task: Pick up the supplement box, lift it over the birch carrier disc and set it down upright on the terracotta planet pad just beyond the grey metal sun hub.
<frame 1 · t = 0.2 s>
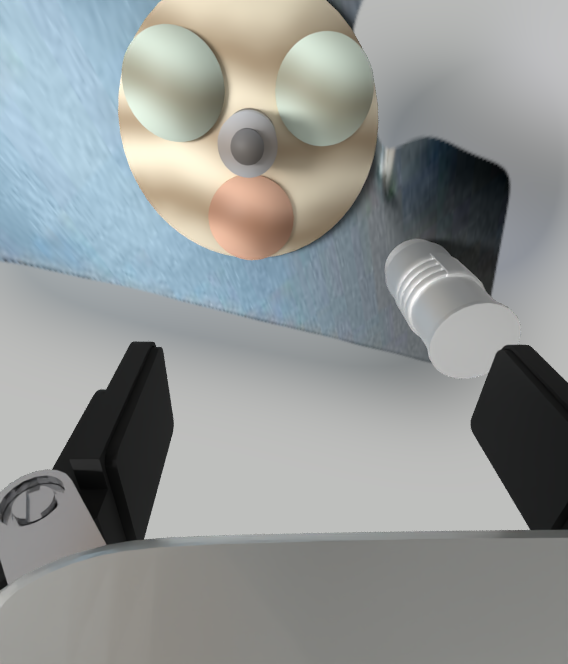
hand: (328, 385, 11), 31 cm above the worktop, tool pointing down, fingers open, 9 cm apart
carrier: (251, 135, 35), on the worktop
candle: (412, 264, 43), on the worktop
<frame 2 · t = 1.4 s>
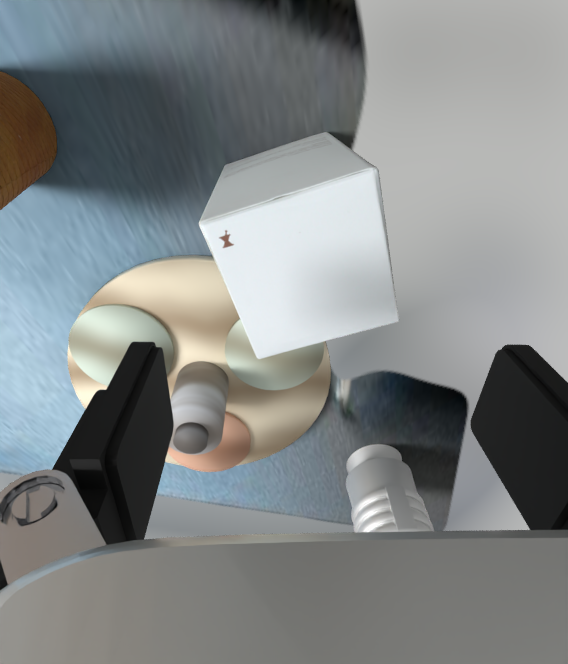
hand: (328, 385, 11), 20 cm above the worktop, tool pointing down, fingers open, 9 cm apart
carrier: (204, 373, 35), on the worktop
disposable coffee cup: (5, 128, 25), on the worktop
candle: (373, 461, 43), on the worktop
supplement box: (291, 201, 28), on the worktop
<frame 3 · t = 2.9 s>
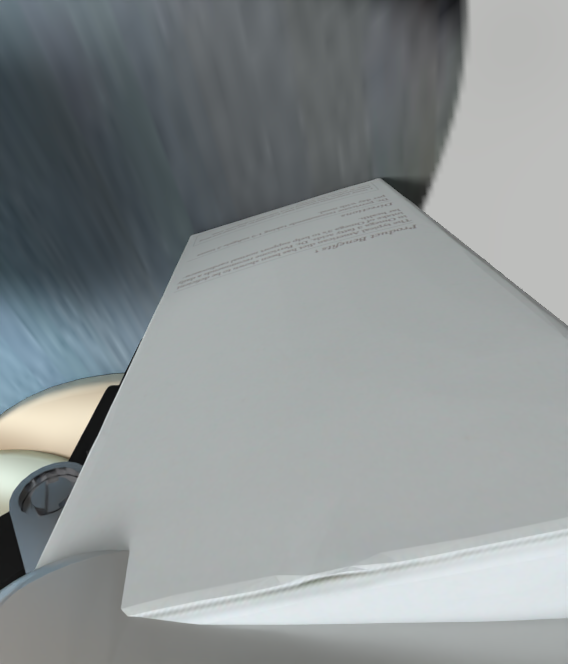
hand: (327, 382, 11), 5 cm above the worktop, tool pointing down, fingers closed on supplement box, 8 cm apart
carrier: (173, 521, 23), on the worktop
supplement box: (309, 290, 16), on the worktop, touching gripper
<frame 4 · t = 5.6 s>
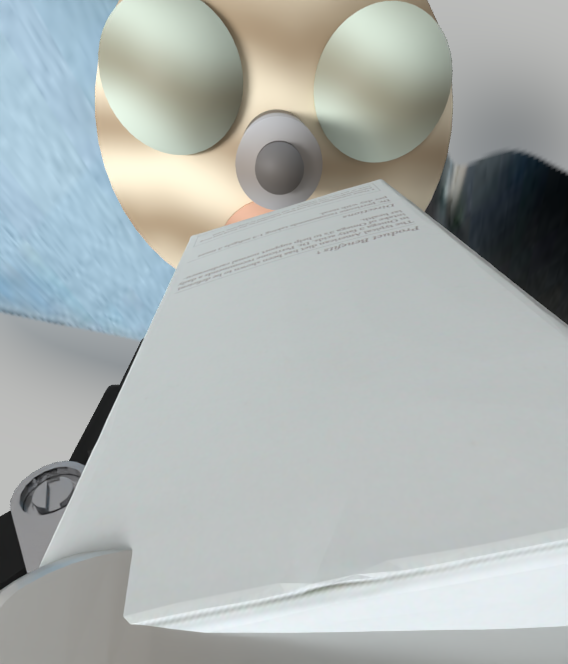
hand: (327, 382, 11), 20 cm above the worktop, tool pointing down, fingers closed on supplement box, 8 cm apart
carrier: (276, 146, 26), on the worktop
supplement box: (309, 291, 16), point 14 cm above the worktop, touching gripper
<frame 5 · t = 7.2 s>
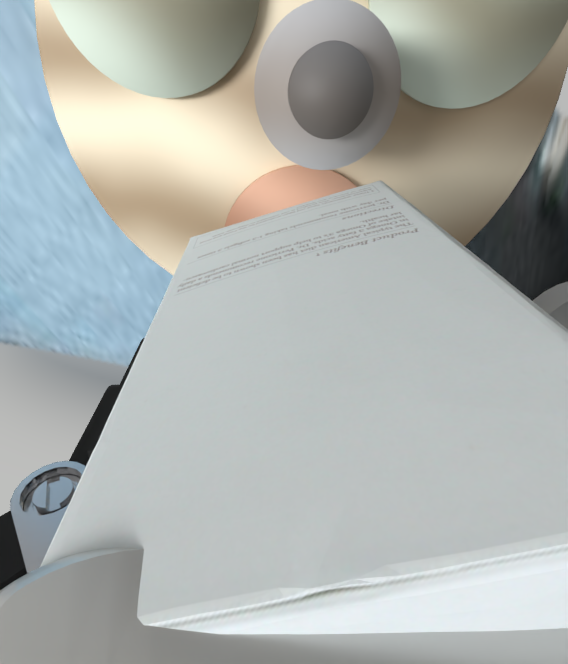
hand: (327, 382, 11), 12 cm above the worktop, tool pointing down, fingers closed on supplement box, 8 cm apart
carrier: (307, 89, 18), on the worktop
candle: (561, 320, 25), on the worktop
supplement box: (309, 292, 16), point 7 cm above the worktop, touching gripper
when the fingers open (8 cm above the worktop, at t = 8.6 s): supplement box drops 1 cm, resting on carrier.
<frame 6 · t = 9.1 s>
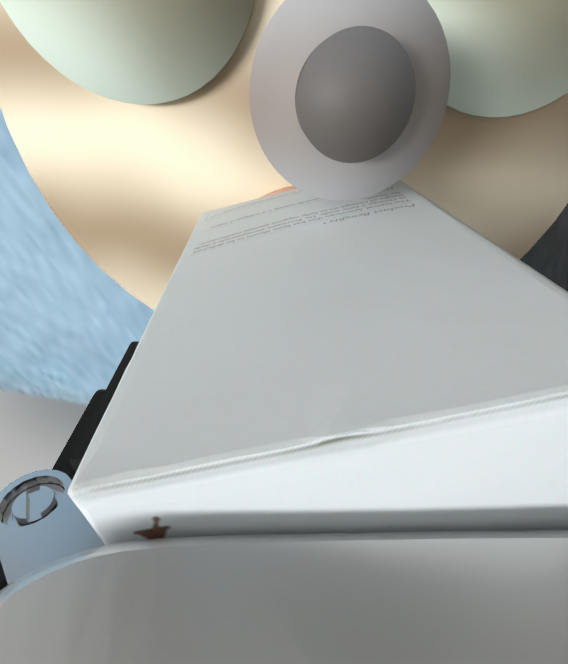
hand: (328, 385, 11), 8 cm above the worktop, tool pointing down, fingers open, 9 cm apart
carrier: (315, 93, 15), on the worktop
supplement box: (309, 273, 17), point 2 cm above the worktop, touching carrier
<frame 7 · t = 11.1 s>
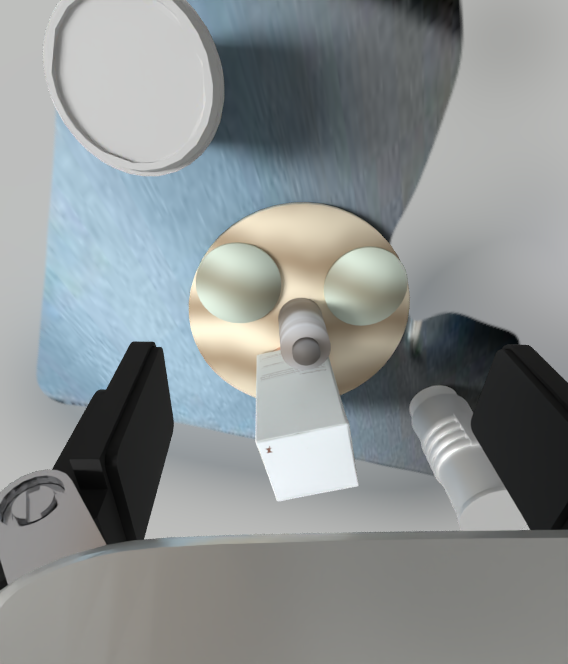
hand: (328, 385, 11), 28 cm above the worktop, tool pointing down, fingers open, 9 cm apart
carrier: (299, 312, 41), on the worktop
disposable coffee cup: (175, 91, 31), on the worktop
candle: (433, 403, 48), on the worktop
supplement box: (297, 373, 43), point 1 cm above the worktop, touching carrier
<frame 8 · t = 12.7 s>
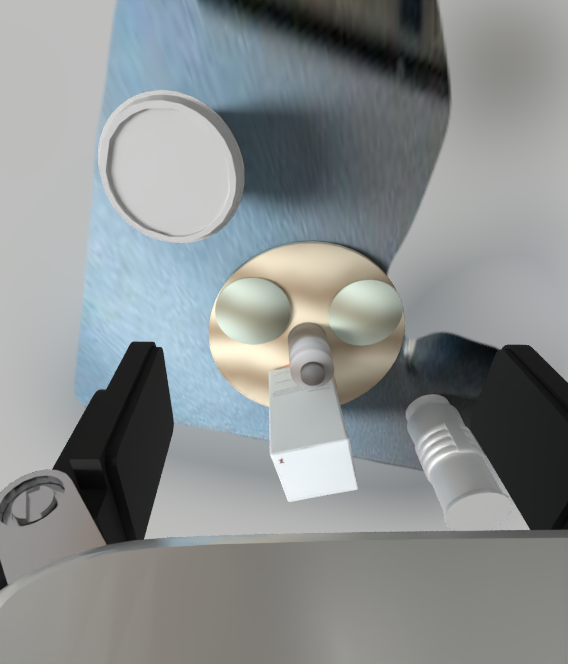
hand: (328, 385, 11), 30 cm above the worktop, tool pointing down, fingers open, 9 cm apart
carrier: (306, 333, 46), on the worktop
disposable coffee cup: (197, 150, 36), on the worktop
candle: (427, 410, 53), on the worktop
supplement box: (304, 386, 48), point 1 cm above the worktop, touching carrier
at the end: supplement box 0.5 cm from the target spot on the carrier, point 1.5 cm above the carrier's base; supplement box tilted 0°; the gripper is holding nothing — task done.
